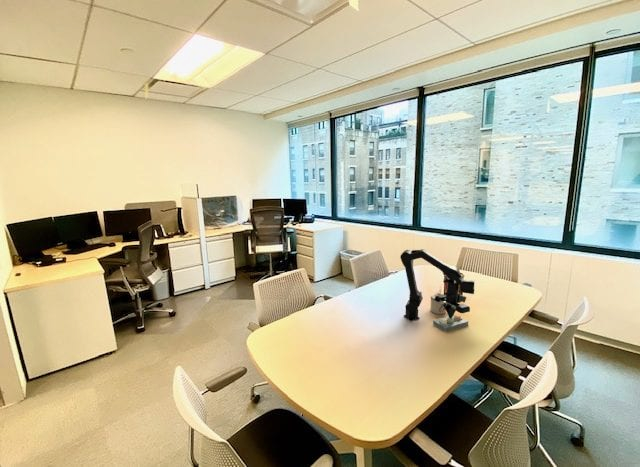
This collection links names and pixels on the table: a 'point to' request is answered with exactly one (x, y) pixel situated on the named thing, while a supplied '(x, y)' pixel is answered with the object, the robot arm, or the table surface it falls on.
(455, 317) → the terracotta button
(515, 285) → the table surface
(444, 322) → the cream button
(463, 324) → the panel
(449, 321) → the sage button
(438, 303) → the teacup with lid
